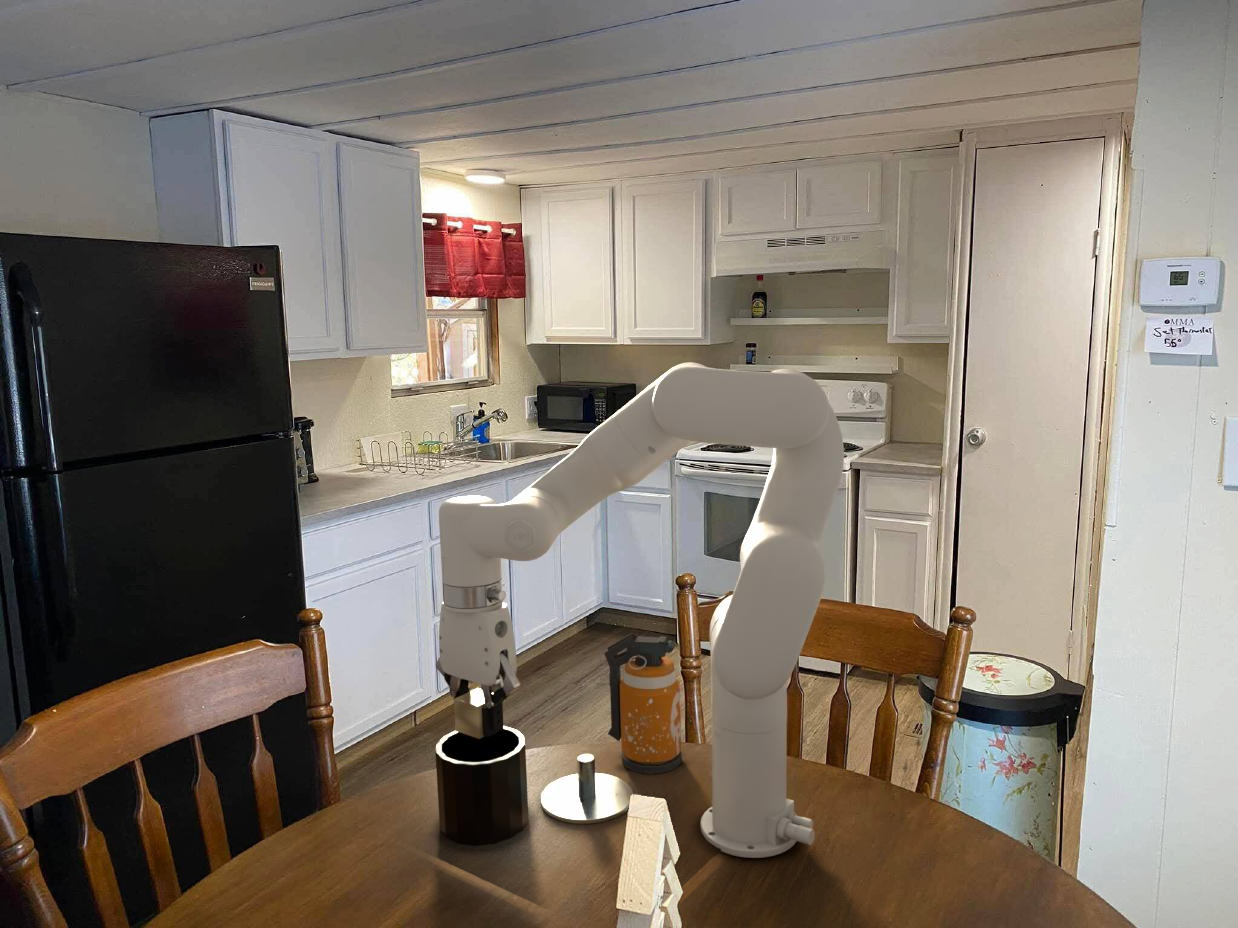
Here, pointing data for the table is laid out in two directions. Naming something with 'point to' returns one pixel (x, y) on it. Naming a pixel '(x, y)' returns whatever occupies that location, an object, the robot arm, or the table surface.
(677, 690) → the canister
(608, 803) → the lid
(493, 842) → the dark pen holder
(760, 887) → the table surface
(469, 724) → the block
